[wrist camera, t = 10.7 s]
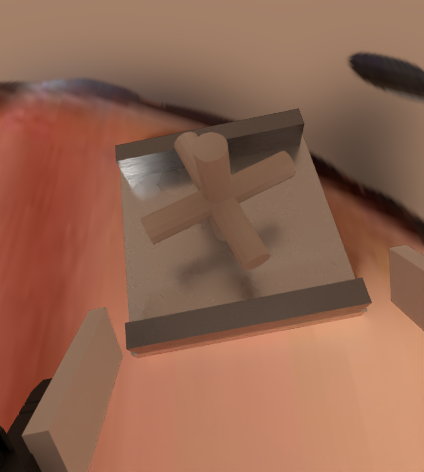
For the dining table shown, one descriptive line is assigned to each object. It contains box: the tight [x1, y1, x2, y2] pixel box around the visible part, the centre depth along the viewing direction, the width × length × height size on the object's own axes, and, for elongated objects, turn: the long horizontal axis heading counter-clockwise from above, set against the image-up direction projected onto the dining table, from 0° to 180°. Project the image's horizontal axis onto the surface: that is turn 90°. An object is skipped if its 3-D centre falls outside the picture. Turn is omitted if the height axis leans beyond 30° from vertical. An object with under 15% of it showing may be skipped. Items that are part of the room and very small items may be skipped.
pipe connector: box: [141, 132, 295, 271], centre depth 22 cm, size 10×10×10 cm
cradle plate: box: [115, 109, 372, 358], centre depth 26 cm, size 16×16×4 cm
